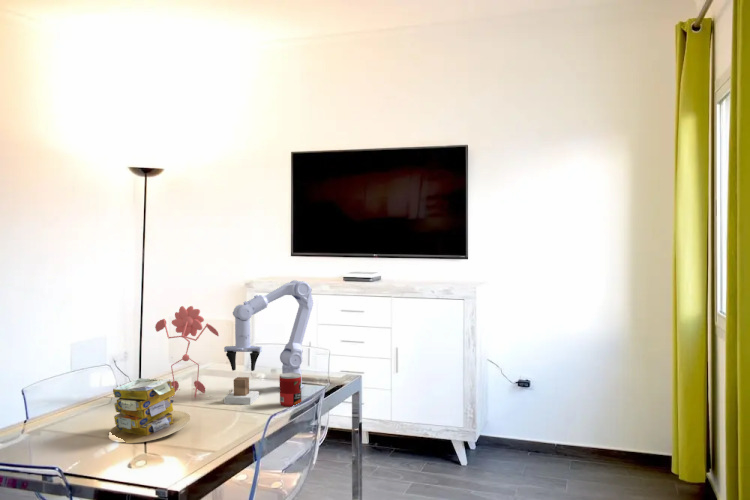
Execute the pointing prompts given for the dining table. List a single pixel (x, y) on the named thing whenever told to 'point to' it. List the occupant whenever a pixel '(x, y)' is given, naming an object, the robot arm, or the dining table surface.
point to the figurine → (187, 324)
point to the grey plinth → (241, 398)
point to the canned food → (290, 389)
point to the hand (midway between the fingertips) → (243, 370)
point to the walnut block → (241, 386)
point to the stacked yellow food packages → (146, 411)
